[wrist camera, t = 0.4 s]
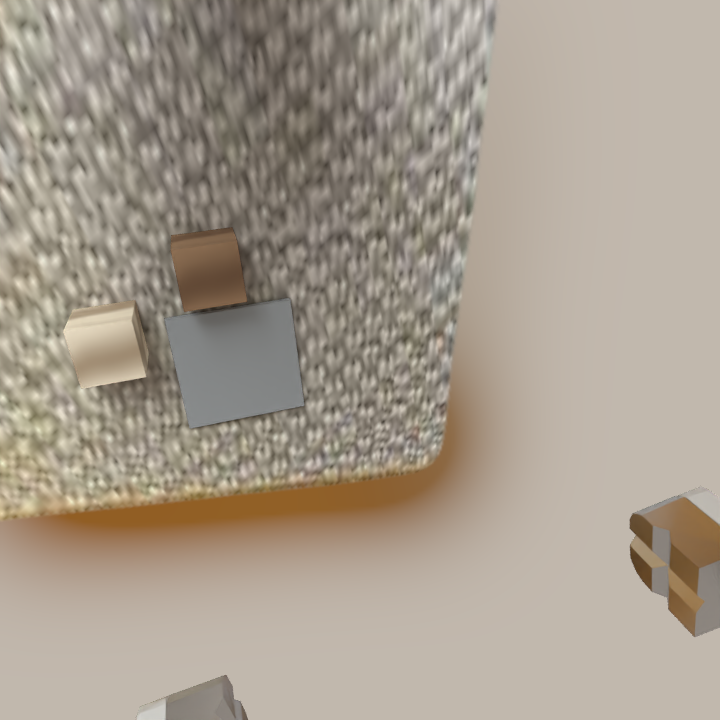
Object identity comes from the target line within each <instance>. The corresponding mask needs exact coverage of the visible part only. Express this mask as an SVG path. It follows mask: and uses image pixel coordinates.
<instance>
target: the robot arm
mask: <svg viewBox="0 0 720 720" xmlns="http://www.w3.org/2000/svg"><path fill="white" fill-rule="evenodd" d="M630 529H631V530H632V531H633V532H634V533H635V534H636V536H635V537H634V539H633V541H632V542H631V544H630V556H631V560H632V563H633V565H634V568H635V570H636V572H637V574H638V575H639V576H640V578H641V579H642V581H643V582H644V583H645V585H646V586H647V587H648V588H649V589H650V590H651V591H652V592H654V593H657V594H659V595H662V596H664V597H667V600H668V609H669V611H670V612H671V613H672V614H673V615H674V616H675V617H676V618H677V619H678V620H679V621H680V622H681V623H682V624H683V625H684V627H685V628H686V629H687V630H688V631H689V632H690V633H691V634H692V635H693V636H694V637H696V636H699V635H702V634H704V633H707V632H709V631H712V630H714V629H717V628H719V627H720V498H719V497H718V496H717V495H715V494H714V493H713V492H712V491H710V490H709V489H707V488H704V487H698V488H696V489H693V490H691V491H688V492H686V493H683V494H681V495H678V496H674V497H672V498H669V499H667V500H664V501H662V502H659V503H657V504H654V505H652V506H650V507H647V508H645V509H642V510H640V511H637V512H635V513H633V514H632V516H631V518H630ZM136 720H248V718H247V715H246V712H245V710H244V708H243V706H242V704H241V702H240V701H238V700H235V699H234V695H233V686H232V684H231V683H230V681H229V679H228V677H227V675H224V676H221V677H218V678H216V679H213V680H210V681H207V682H205V683H202V684H199V685H196V686H193V687H191V688H188V689H185V690H182V691H180V692H177V693H174V694H171V695H169V696H166V697H164V698H161V699H159V700H156V701H153V702H151V703H148V704H145V705H143V706H140V708H139V711H138V714H137V716H136Z"/></svg>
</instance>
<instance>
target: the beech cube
mask: <svg viewBox="0 0 720 720" xmlns="http://www.w3.org/2000/svg"><path fill="white" fill-rule="evenodd" d="M63 333H64V336H65V339H66V342H67V345H68V348H69V351H70V355H71V358H72V361H73V364H74V367H75V370H76V373H77V377H78V380H79V383H80V386H81V389H83V388H89V387H94V386H100V385H105V384H111V383H116V382H122V381H127V380H133V379H138V378H144V377H146V375H147V366H148V356H149V352H148V348H147V344H146V340H145V336H144V332H143V328H142V324H141V320H140V316H139V313H138V309H137V305H136V301H135V300H132V301H126V302H120V303H113V304H107V305H100V306H94V307H87V308H81V309H74V310H73V311H72V313H71V315H70V317H69V319H68V322H67V324H66V326H65V328H64V331H63Z"/></svg>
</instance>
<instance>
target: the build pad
mask: <svg viewBox="0 0 720 720" xmlns="http://www.w3.org/2000/svg"><path fill="white" fill-rule="evenodd" d="M165 325H166V329H167V333H168V338H169V342H170V346H171V350H172V355H173V359H174V363H175V367H176V372H177V376H178V380H179V384H180V389H181V393H182V397H183V402H184V406H185V410H186V414H187V419H188V423H189V427H190V428H195V427H200V426H205V425H210V424H215V423H220V422H225V421H230V420H235V419H240V418H245V417H250V416H255V415H260V414H265V413H270V412H275V411H280V410H285V409H290V408H295V407H300V406H304V399H303V391H302V384H301V376H300V368H299V361H298V353H297V346H296V338H295V331H294V323H293V316H292V308H291V301H290V298H286V299H280V300H274V301H268V302H262V303H255V304H249V305H243V306H237V307H231V308H225V309H218V310H212V311H206V312H200V313H194V314H187V315H181V316H175V317H169V318H165Z"/></svg>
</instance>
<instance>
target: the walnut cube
mask: <svg viewBox="0 0 720 720" xmlns="http://www.w3.org/2000/svg"><path fill="white" fill-rule="evenodd" d="M171 254H172V259H173V263H174V268H175V272H176V277H177V281H178V286H179V291H180V295H181V300H182V304H183V309H184V312H187V311H193V310H199V309H205V308H211V307H218V306H224V305H230V304H236V303H242V302H247V297H246V291H245V285H244V279H243V273H242V267H241V261H240V255H239V249H238V243H237V239H236V236H235V234H234V231H233V228H232V227H231V228H223V229H216V230H208V231H201V232H194V233H186V234H179V235H171Z"/></svg>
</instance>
